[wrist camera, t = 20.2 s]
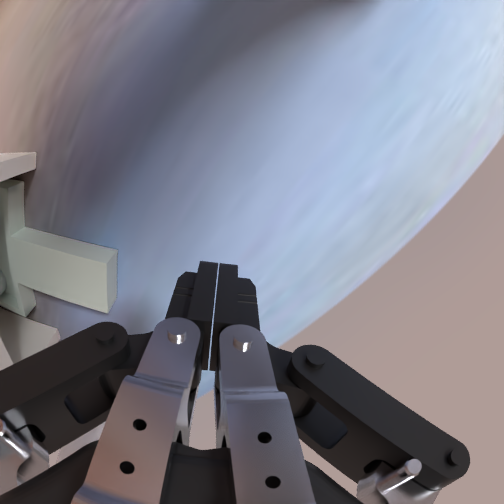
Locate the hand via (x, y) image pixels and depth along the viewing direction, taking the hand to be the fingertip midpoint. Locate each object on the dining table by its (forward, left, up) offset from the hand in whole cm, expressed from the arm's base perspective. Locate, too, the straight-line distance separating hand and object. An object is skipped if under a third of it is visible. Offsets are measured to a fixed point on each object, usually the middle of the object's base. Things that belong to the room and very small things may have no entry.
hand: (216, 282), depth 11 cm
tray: (+19, +7, -10) cm, 23 cm away
